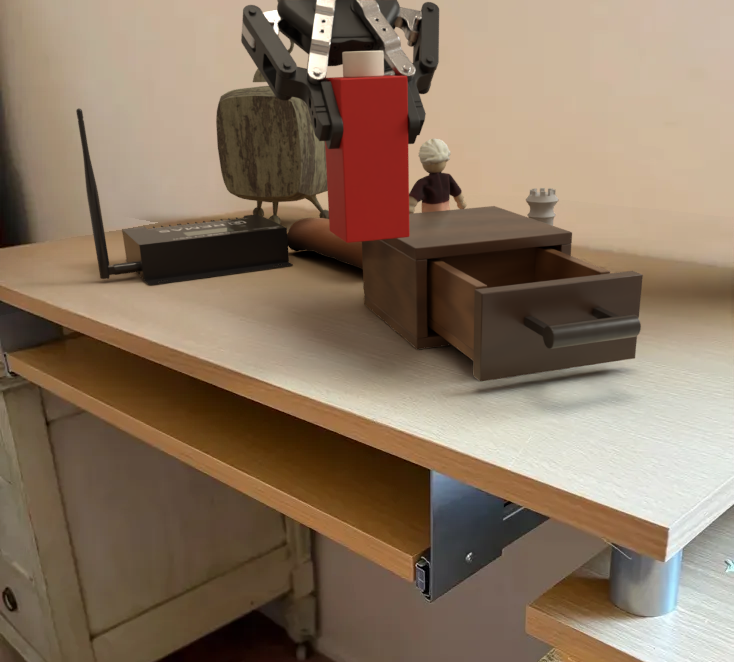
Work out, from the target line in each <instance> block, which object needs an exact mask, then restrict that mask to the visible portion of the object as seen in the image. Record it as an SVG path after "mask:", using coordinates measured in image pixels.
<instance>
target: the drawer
mask: <svg viewBox="0 0 734 662" xmlns="http://www.w3.org/2000/svg"><path fill="white" fill-rule="evenodd" d="M643 278H644V275H643V274H642V273H640V272H637V271H635V270H627V271H619V272H611V271H610V270H609V269H606V268H603V267H601V266H598V265H596V264H593V263H591V262H588V261H586V260H583V259H580V258H578V257H575V256H573V255H571V256H570V255H568V254H565V253H562V252H560V251H557V250H555V249H552V248H549V247H547V246H545V247H535V248H526V249H516V250H507V251H498V252H488V253H479V254H470V255H460V256H451V257H441V258H432V259H427V326H428V327H430V328H431V329H432V330H434V331H435V332H436V333H438V334H439V335H440V336H441V337H443V338H444V339H445V340H447V341H448V342H449V343H451V344H452V345H451V346H453V347H454V348H456V349H457V350H458V351H460V352H461V353H463V354H464V355H465V356H466V357H468V358H469V359H470V360H472V361H473V365H472V367H473V368H472V376H473V377H474V378H476V380H478V381H479V382H487V381H495V380H499V379H501V380H502V379H507V378H515V377H521V376H526V375H533V374H541V373H547V372H553V371H560V370H566V369H572V368H579V367H586V366H593V365H599V364H607V363H613V362H621V361H628V360H634V359H636V353H637V343H638V336H639V335H640V333H641V330H642V323H641V320H640V312H641V311H640V310H641V300H642V288H643Z"/></svg>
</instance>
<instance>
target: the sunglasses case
mask: <svg viewBox="0 0 734 662" xmlns="http://www.w3.org/2000/svg"><path fill="white" fill-rule="evenodd" d="M287 238H288V249H290V251H291V250H292V251H294V252H296V253H297V252H304V251H307V252H315V253H316V254H319V255H321V256H325V257H326V258H332V259H335V260H336V261H339V262H341V263H345V264H348V265H351V266H352V267H353V266H354V267H355V268H359V269H362V270H363V259H362V242H352V243H346V242H345V241H344V240H342V239H341V238H339V237H338V236H336V235H335V234H333V233H332V232H330V228H329V219H325V218H320V217H306V218H301V219H298V220H296V221H294V222H293V223H292V225H291V226H290V228H289V229H288V230H287Z"/></svg>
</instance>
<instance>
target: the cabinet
mask: <svg viewBox="0 0 734 662" xmlns="http://www.w3.org/2000/svg"><path fill="white" fill-rule="evenodd" d="M409 234H410V236H409V237H404V238H393V239H383V240H373V241H362V259H363V269H362V280H363V281H362V282H363V283H362V284H363V285H362V286H363V304H364V306H365V307H367V308H368V309H369V310H370V311H371V312H372V313H374V314H375V315H376V316H377V317H378V318H379V319H381V320H382V321H383V322H384V323H385V324H387V325H388V327H390V328H391V329H392V330H394V331H395V332H396V333H397V334H398V335H399V336H400V337H402V338H403V339H404V340H405V341H406V342H407V343H409V344H410V345H411V346H412V347H414V348H415V349H416V350H423V349H424V350H425V349H432V348H439V347H445V346H453V345H452V344H451V343H449V342H448V341H447V340H445V339H444V338H443V337H441V336H440V335H439V334H438V333H436V332H435V331H434V330H432V329H431V328H430V327H428V326H427V259H432V258H441V257H451V256H460V255H470V254H479V253H488V252H498V251H507V250H516V249H526V248H535V247H545V246H547V247H549V248H552V249H555V250H557V251H560V252H562V253H565V254H568V255H570V256H572V243H573V242H572V241H573V232H572V231H569V230H567V229H564V228H561V227H558V226H556V225H555V226H554V225H553V226H552V225H549V224H546V223H543V222H540V221H537V220H534V219H531V218H529V217H528V216H526V215H522V214H519V213H516V212H514V211H510V210H507V209H505V208H502V207H498V206H495V205H491V206H479V207H467V208H464V209H459V208H457V209H450V210H445V211H434V212H423V213H422V212H414V213H412V214H409Z"/></svg>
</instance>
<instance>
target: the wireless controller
mask: <svg viewBox="0 0 734 662" xmlns="http://www.w3.org/2000/svg"><path fill="white" fill-rule="evenodd" d="M75 111H76V118H77V125H78V130H79V137H80V142H81V151H82V158H83V167H84V168H83V169H84V179H85V190H86V198H87V203H88V210H89V216H90V222H91V229H92V235H93V240H94V241H93V242H94V247H95V254H96V259H97V260H96V261H97V265H98V272H99V277H100V279H101V280H108V279H109V278H110V276H112V275H113V276H114V275H115V276H118V275H126V274H132V273H136V274H137V275H138V276H139V277H140V278H141V279H142V281H144V282H145V284H146V285H148V286H156V285H163V284H170V283H177V282H178V283H179V282H185V281H193V280H199V279H207V278H214V277H221V276H229V275H236V274H244V273H251V272H257V271H259V272H260V271H265V270H273V269H281V268H287V267H293V266H294V264H293V263H291V262H290V254H289V246H288V238H287V233H288V228H287V226H284V225H282V224H281V223H280V224H278V223H276V222H273V221H271V220H269V218H267V217H264V216H263V217H262V216H260V215H258V214H255V215H253V214H247V215H243V217H241V218H239V217H235V218H232V219H231V218H227V219H222V218H221V219H220V220H215V219H213V220H212V219H211V220H210V221H205V220H203V221H202V222H197V221H195V222H194V223H189V222H187V223H186V224H181V223H177V224H176V225H171V224H168V226H163V225H160V227H155V226H152V228H147V227H145V226H136V227H130V228H129V227H127V228H122V229H121V232H122V237H123V238H122V239H123V245H124V252H125V253H124V254H125V262H121V263H113V264H110V260H109V253H108V246H107V240H106V234H105V233H106V232H105V227H104V222H103V221H104V220H103V215H102V209H101V201H100V197H99V195H100V194H99V190H98V185H97V181H96V177H95V173H94V168H93V165H92V160H91V155H90V150H89V145H88V137H87V132H86V126H85V120H84V114H83V113H84V112H83V110H82V108H77V109H76V110H75Z"/></svg>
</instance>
